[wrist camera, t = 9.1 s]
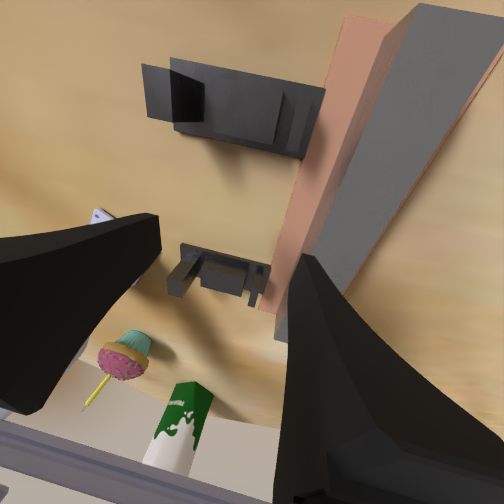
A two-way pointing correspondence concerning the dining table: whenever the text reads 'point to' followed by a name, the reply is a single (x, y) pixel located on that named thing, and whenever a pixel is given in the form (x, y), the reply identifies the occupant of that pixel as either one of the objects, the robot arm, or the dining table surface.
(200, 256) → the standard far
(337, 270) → the rail
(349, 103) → the mat
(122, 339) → the cupcake
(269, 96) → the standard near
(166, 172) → the dining table surface
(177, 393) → the milk carton
